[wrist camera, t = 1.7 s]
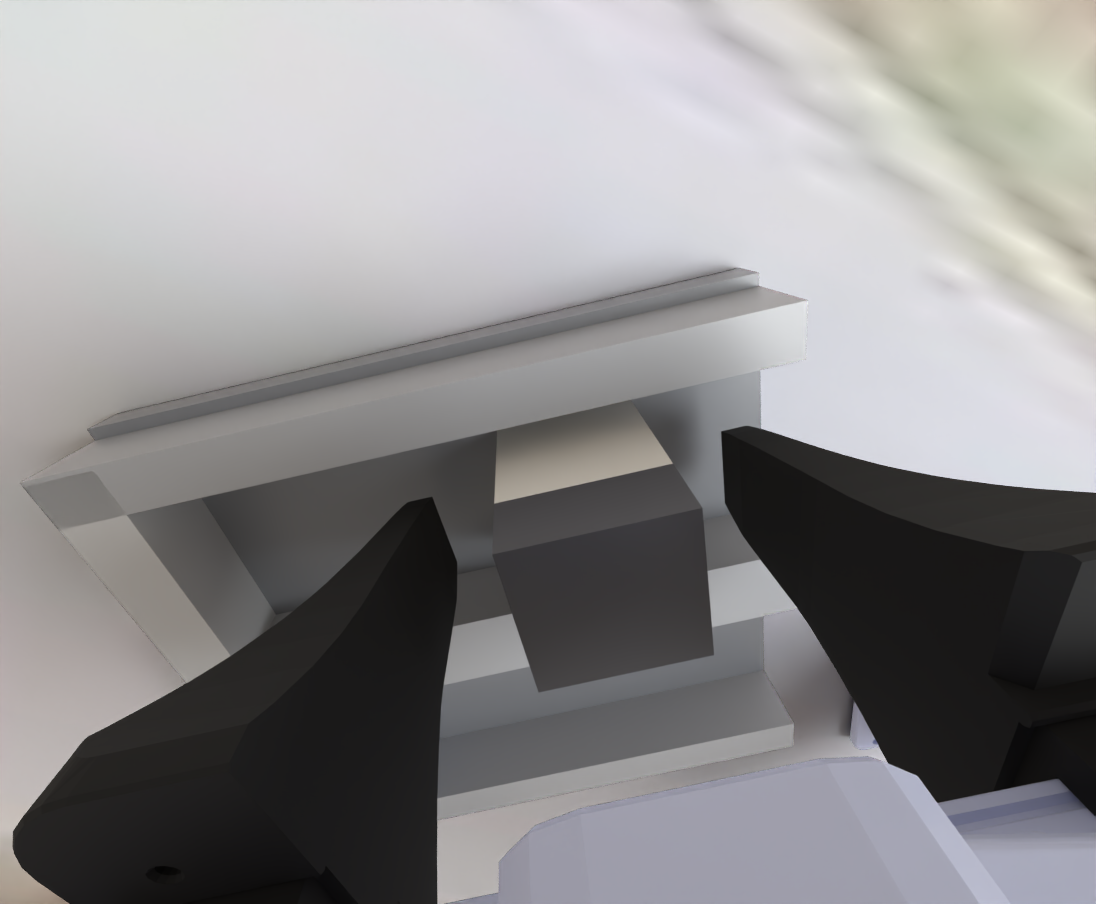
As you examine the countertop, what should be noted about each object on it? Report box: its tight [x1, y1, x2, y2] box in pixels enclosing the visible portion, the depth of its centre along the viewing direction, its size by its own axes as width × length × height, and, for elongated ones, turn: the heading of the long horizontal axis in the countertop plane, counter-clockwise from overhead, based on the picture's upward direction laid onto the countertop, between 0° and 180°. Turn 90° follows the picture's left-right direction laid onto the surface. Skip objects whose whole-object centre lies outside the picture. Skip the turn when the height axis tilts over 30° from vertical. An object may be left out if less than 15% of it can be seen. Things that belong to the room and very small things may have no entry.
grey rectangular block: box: [492, 400, 714, 693], centre depth 11 cm, size 3×3×5 cm
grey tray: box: [20, 268, 808, 820], centre depth 14 cm, size 16×15×4 cm
